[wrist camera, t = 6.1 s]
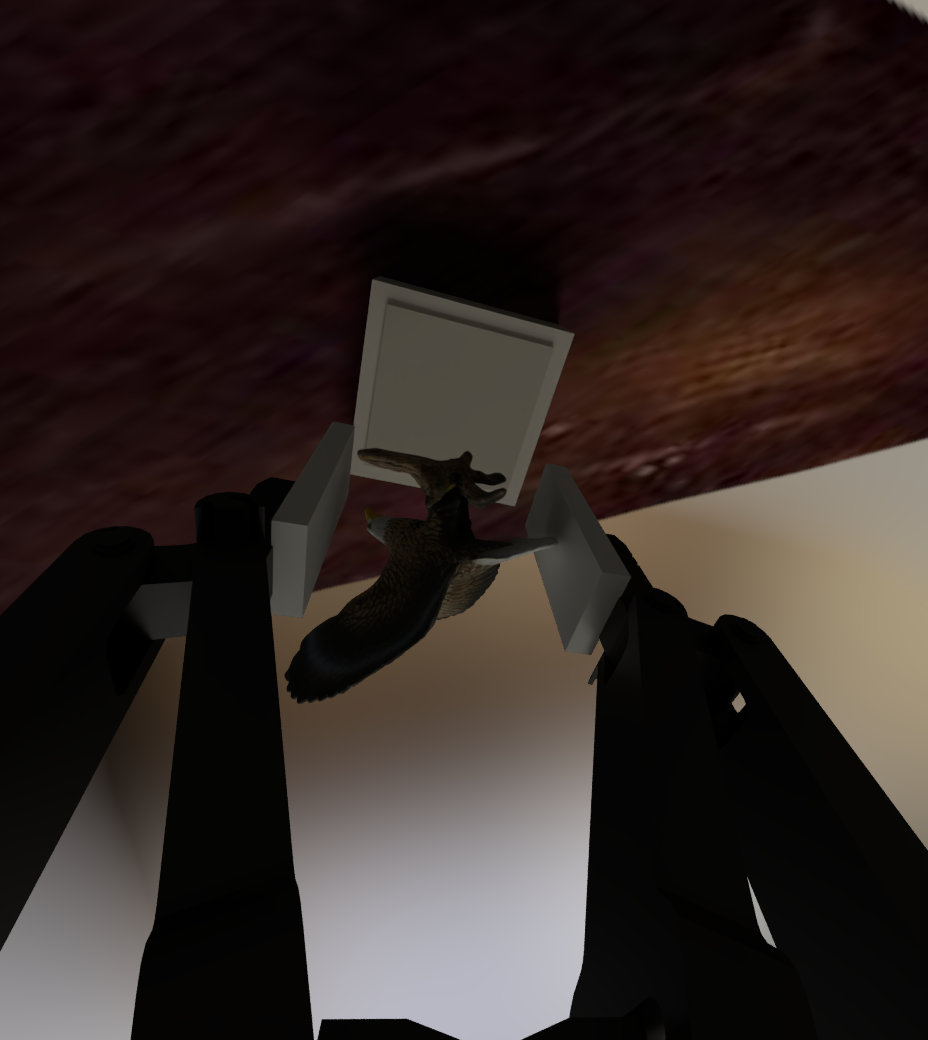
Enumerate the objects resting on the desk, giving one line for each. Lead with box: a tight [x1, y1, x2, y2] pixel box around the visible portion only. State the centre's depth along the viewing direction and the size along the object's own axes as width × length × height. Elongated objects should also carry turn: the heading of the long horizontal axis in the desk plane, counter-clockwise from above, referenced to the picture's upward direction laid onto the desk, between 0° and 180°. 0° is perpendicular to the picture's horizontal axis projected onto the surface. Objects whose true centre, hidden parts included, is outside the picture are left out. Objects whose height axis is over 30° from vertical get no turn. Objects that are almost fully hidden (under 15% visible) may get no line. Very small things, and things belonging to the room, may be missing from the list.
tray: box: [350, 276, 574, 506], centre depth 30 cm, size 12×12×4 cm
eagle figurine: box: [285, 448, 558, 704], centre depth 16 cm, size 8×7×9 cm
